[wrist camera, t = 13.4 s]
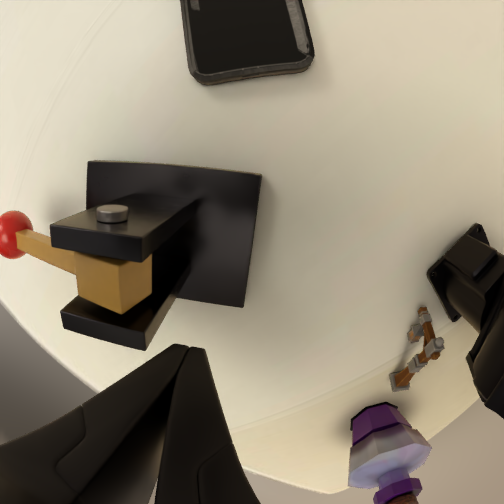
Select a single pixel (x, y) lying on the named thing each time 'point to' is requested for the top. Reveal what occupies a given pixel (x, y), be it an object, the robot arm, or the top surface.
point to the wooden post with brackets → (430, 351)
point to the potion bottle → (386, 454)
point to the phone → (245, 39)
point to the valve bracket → (162, 240)
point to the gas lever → (80, 265)
